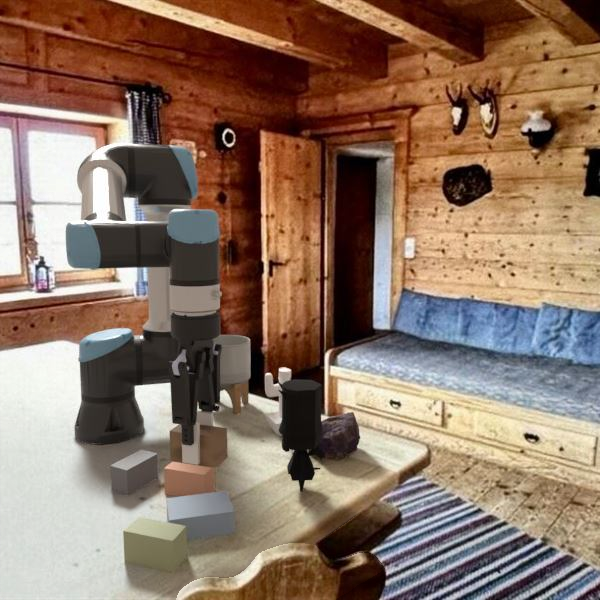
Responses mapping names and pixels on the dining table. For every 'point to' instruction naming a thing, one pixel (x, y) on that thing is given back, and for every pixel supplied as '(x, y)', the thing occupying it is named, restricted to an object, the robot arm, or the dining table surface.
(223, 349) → the planter
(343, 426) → the rock
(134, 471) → the charcoal block
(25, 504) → the dining table surface
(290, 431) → the toy
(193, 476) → the terracotta block
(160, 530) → the olive block
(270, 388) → the figurine
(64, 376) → the dining table surface
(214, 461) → the walnut block
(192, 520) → the slate slab
